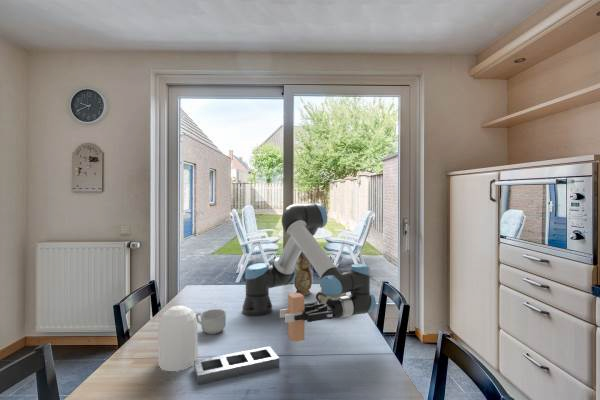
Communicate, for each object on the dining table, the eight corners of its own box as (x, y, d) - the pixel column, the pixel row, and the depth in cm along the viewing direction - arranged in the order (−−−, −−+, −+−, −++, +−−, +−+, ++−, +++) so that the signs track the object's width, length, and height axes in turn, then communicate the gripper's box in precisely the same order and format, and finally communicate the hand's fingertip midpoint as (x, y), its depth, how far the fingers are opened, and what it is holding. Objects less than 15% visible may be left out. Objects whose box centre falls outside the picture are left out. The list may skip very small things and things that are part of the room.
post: (288, 336, 128) (288, 294, 128) (299, 334, 130) (299, 292, 130) (292, 342, 124) (292, 297, 124) (304, 339, 126) (304, 296, 125)
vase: (292, 295, 203) (292, 244, 202) (296, 290, 214) (295, 241, 213) (310, 295, 201) (310, 244, 201) (312, 290, 212) (312, 241, 211)
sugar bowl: (325, 318, 165) (325, 287, 165) (307, 309, 177) (307, 280, 177) (356, 310, 176) (356, 280, 176) (337, 302, 188) (337, 275, 188)
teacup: (231, 328, 153) (230, 310, 153) (215, 338, 144) (215, 319, 143) (206, 324, 159) (206, 306, 159) (189, 332, 149) (189, 314, 149)
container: (156, 358, 126) (155, 304, 126) (193, 350, 133) (192, 298, 132) (161, 375, 114) (160, 315, 114) (202, 365, 121) (201, 308, 120)
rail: (194, 369, 118) (193, 360, 118) (269, 354, 129) (269, 346, 129) (198, 384, 108) (197, 375, 108) (279, 366, 119) (279, 358, 119)
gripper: (351, 325, 126) (291, 335, 117) (328, 309, 142) (274, 318, 133) (351, 304, 126) (291, 314, 116) (328, 291, 142) (274, 298, 133)
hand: (282, 316), depth 125 cm, fingers closed on post, 5 cm apart
